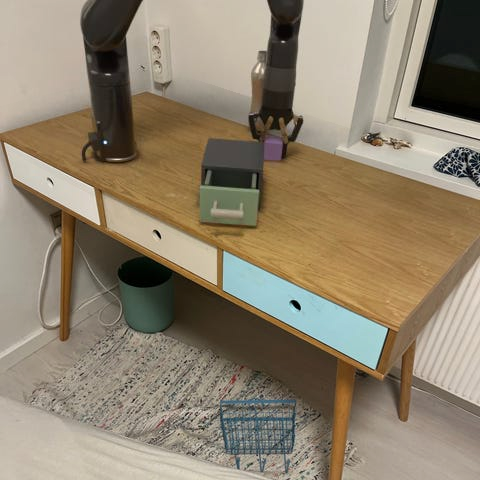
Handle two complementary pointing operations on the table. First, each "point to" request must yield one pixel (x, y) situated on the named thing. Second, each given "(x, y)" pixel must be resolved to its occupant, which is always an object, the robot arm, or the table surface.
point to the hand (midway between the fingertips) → (272, 155)
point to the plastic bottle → (258, 86)
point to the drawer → (229, 198)
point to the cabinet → (234, 158)
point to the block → (273, 148)
